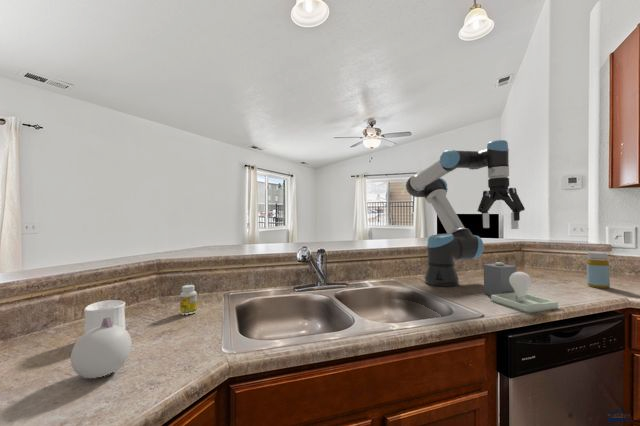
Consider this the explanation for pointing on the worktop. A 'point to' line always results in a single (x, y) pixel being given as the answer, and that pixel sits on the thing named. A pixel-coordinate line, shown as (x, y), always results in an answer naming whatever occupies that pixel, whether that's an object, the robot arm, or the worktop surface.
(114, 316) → the cup
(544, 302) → the tray
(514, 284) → the light bulb
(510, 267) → the box
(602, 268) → the bottle
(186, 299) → the supplement bottle
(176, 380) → the worktop surface
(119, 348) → the ornament
